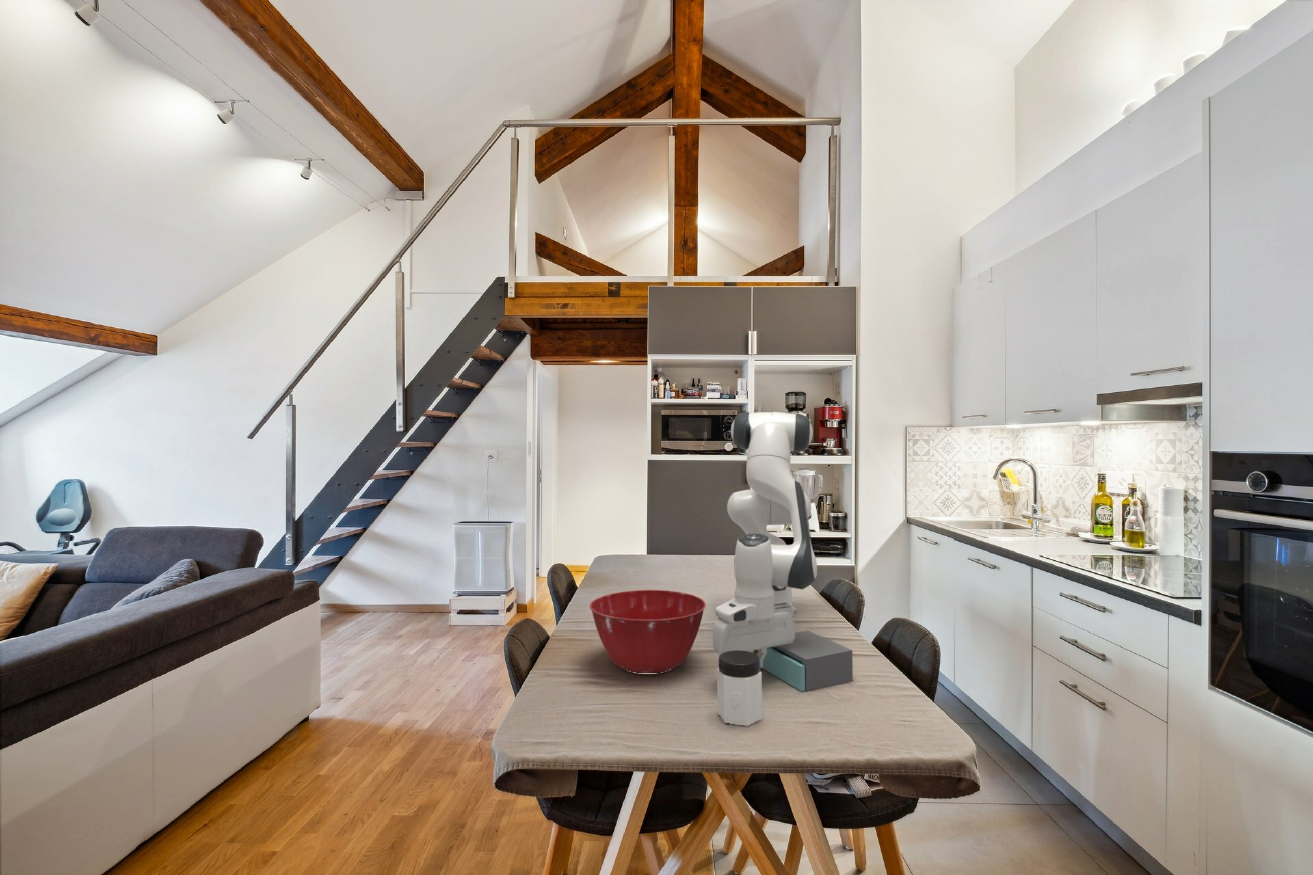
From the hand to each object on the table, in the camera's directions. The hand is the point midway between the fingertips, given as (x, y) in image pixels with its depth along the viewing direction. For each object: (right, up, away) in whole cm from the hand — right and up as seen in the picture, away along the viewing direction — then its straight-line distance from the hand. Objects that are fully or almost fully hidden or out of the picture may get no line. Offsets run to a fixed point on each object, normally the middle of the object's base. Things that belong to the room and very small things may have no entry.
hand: (755, 667), depth 142 cm
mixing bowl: (-24, -4, +12) cm, 27 cm away
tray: (+12, -3, +4) cm, 13 cm away
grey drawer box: (+13, -3, +5) cm, 14 cm away
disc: (+12, -1, +5) cm, 13 cm away
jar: (-6, -4, -17) cm, 18 cm away
